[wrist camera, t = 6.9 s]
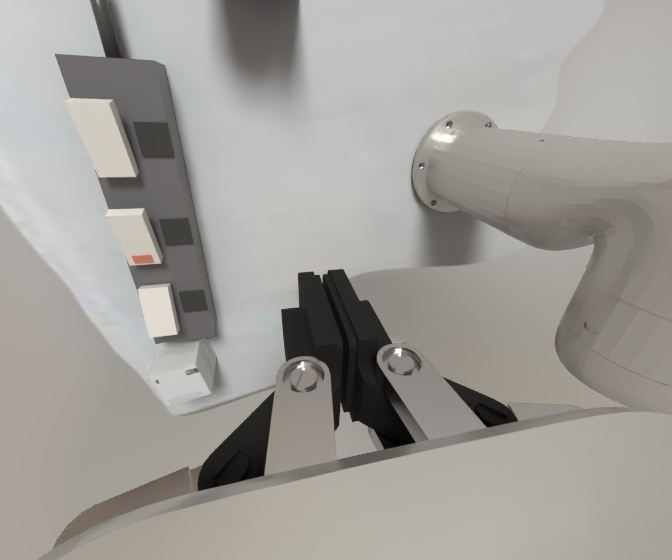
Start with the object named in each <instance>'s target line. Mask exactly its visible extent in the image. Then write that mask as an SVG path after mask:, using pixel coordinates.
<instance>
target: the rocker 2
mask: <svg viewBox="0 0 672 560" xmlns="http://www.w3.org/2000/svg"><path fill="white" fill-rule="evenodd" d="M105 217H106V219H107V221H108V223H109V225H110V227H111V229H112V231H113V233H114V235H115V237H116V239H117V241H118V243H119V245H120V247H121V249H122V251H123V253H124V255H125V257H126V259H127V261H128V263H129V265H130V266H132V265H146V264H161V262H162V259H163V255H162V252H161V250H160V247H159V245H158V242H157V239H156V237H155V234H154V232H153V229H152V227H151V224H150V221H149V219H148V216H147V214H146V211H145V209H144V208H137V209H109V210H108V212H107V214H106V216H105Z"/></svg>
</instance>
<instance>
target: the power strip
mask: <svg viewBox="0 0 672 560" xmlns="http://www.w3.org/2000/svg"><path fill="white" fill-rule="evenodd" d="M90 2H91V6H92V9H93V13H94V16H95V20H96V23H97V27H98V30H99V34H100V38H101V41H102V45H103V48H104V52H105V55H106V57H92V56H77V55H61V54H55V56H56V59H57V62H58V64H59V67H60V70H61V73H62V76H63V79H64V82H65V85H66V87H67V90H68V93H69V96H70V98H82V99H108V100H114V102H115V105H116V108H117V111H118V114H119V116H120V119H121V122H122V125H123V128H124V130H125V133H126V136H127V139H128V142H129V144H130V147H131V150H132V153H133V156H134V159H135V161H136V164H137V167H138V170H139V173H138V174H137V176H136V177H98V179H99V182H100V185H101V188H102V191H103V194H104V197H105V199H106V202H107V205H108V208H109V209H137V208H144V209H145V211H146V214H147V216H148V219H149V221H150V224H151V227H152V229H153V232H154V234H155V237H156V239H157V242H158V245H159V247H160V250H161V252H162V255H163V259H162V262H161V264H146V265H132V266H130V265H129V263H128V261H127V263H128V265H129V268H130V271H131V274H132V277H133V280H134V283H135V286H136V288H137V291H138V289H139V288H140V287H141V286H146V285H158V284H171V289H172V294H173V299H174V304H175V309H176V314H177V319H178V324H179V329H180V330H179V332H178V334H177V335H169V336H161V337H154V340H155V343H156V344H159V343H167V342H175V341H183V340H191V339H199V338H207V337H214V331H215V325H216V314H215V309H214V304H213V299H212V294H211V289H210V285H209V280H208V275H207V270H206V265H205V260H204V255H203V250H202V245H201V240H200V235H199V231H198V226H197V221H196V216H195V211H194V206H193V201H192V196H191V191H190V186H189V182H188V177H187V172H186V167H185V162H184V157H183V152H182V147H181V142H180V137H179V132H178V128H177V123H176V118H175V113H174V108H173V103H172V98H171V93H170V88H169V83H168V78H167V74H166V69H165V65H163V64H160V63H158V62H156V61H152V60H137V59H123V58H122V54H121V50H120V47H119V43H118V39H117V35H116V31H115V27H114V23H113V20H112V16H111V12H110V8H109V4H108V0H90ZM95 171H96V170H95ZM96 174H97V172H96ZM97 176H98V175H97ZM126 260H127V259H126ZM138 294H139V293H138Z"/></svg>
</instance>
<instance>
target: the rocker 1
mask: <svg viewBox="0 0 672 560" xmlns="http://www.w3.org/2000/svg"><path fill="white" fill-rule="evenodd" d="M65 104H66V106H67V108H68V110H69V113H70V115H71V117H72V119H73V122H74V124H75V126H76V128H77V130H78V133H79V135H80V137H81V139H82V141H83V144H84V146H85V148H86V150H87V152H88V155H89V157H90V159H91V161H92V164H93V166H94V168H95V170H96V172H97V175H98V177H136V176H137V174H138V173H139V170H138V167H137V164H136V161H135V159H134V156H133V153H132V150H131V147H130V144H129V142H128V139H127V136H126V133H125V130H124V128H123V125H122V122H121V119H120V116H119V114H118V111H117V108H116V105H115V102H114V100H108V99H82V98H70V99H68V100H67V101H65Z"/></svg>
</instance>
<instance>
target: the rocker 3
mask: <svg viewBox="0 0 672 560" xmlns="http://www.w3.org/2000/svg"><path fill="white" fill-rule="evenodd" d="M138 293H139V297H140V302H141V306H142V310H143V314H144V318H145V323H146V327H147V331H148V335H149V338H153V337H161V336H169V335H177V334H178V332H179V330H180V329H179V324H178V319H177V314H176V309H175V304H174V299H173V294H172V289H171V284H158V285H146V286H141V287H140V288H139V289H138Z"/></svg>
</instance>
